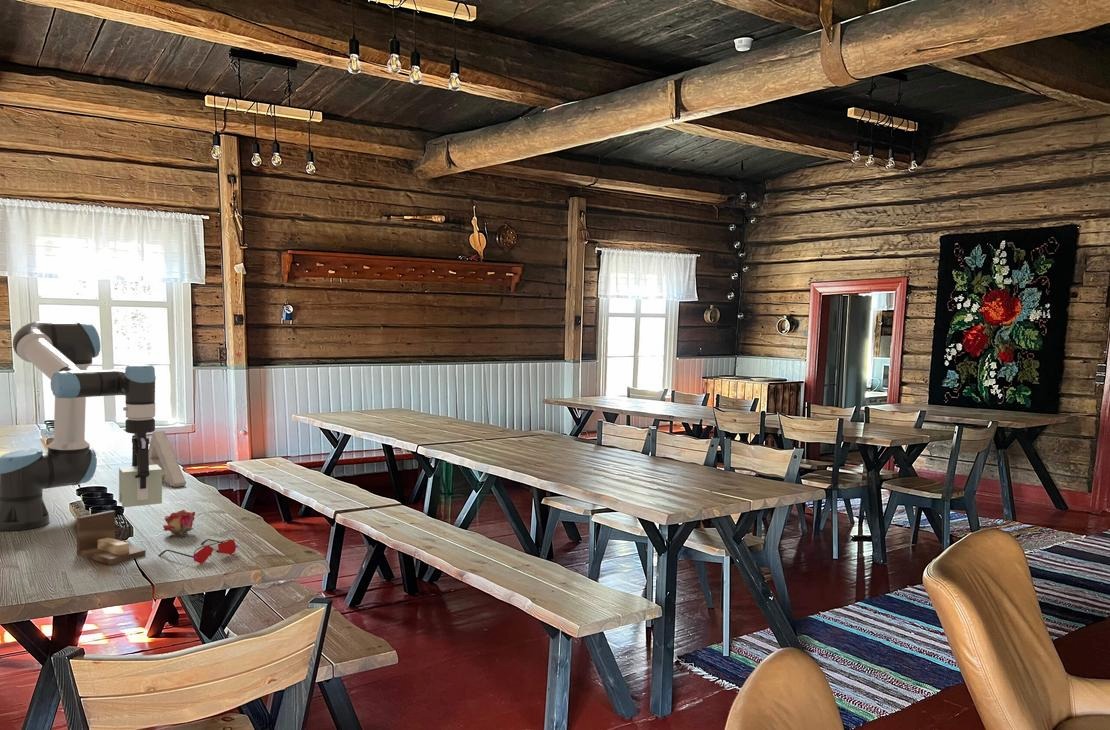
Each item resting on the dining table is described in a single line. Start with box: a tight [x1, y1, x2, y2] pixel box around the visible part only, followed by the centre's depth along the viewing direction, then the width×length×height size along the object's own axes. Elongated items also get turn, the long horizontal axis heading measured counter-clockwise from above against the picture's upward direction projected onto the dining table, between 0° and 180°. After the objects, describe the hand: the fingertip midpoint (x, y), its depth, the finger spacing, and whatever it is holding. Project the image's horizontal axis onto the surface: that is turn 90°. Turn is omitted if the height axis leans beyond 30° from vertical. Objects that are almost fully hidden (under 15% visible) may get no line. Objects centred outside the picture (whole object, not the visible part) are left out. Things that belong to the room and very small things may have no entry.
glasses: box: [157, 538, 239, 564], centre depth 221 cm, size 14×16×5 cm
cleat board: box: [76, 510, 146, 565], centre depth 218 cm, size 16×10×10 cm, turn 60°
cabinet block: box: [118, 465, 165, 508], centre depth 225 cm, size 11×8×10 cm
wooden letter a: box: [148, 430, 187, 488], centre depth 317 cm, size 22×4×30 cm
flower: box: [162, 509, 199, 538], centre depth 239 cm, size 10×9×8 cm
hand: (140, 496), depth 225 cm, fingers closed on cabinet block, 8 cm apart
